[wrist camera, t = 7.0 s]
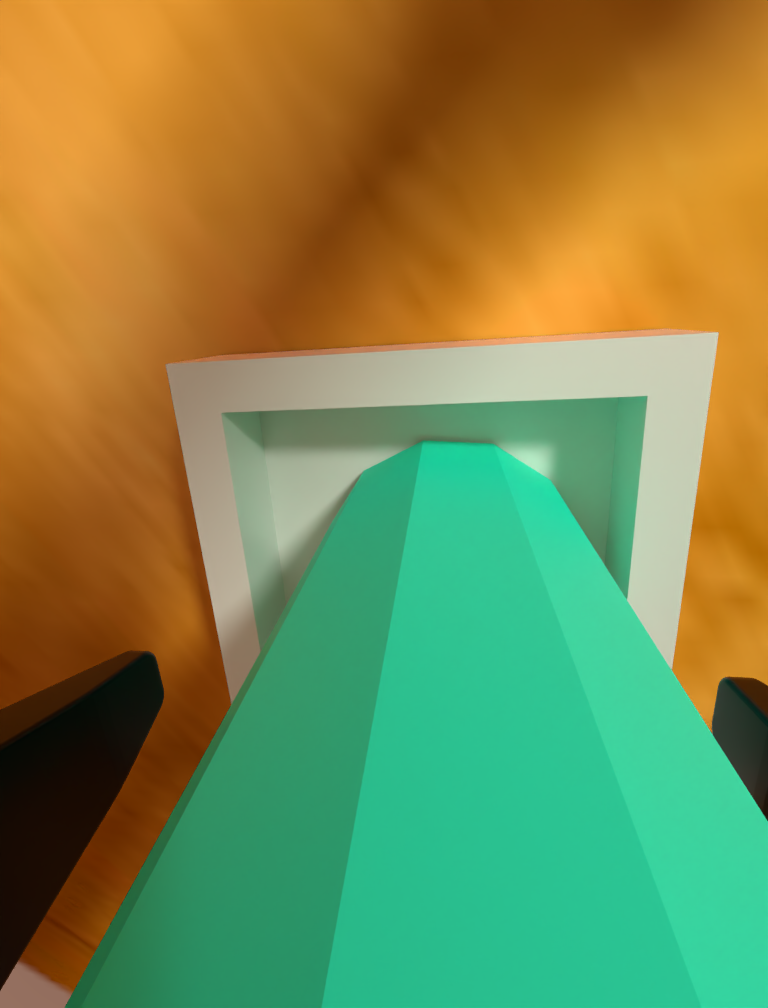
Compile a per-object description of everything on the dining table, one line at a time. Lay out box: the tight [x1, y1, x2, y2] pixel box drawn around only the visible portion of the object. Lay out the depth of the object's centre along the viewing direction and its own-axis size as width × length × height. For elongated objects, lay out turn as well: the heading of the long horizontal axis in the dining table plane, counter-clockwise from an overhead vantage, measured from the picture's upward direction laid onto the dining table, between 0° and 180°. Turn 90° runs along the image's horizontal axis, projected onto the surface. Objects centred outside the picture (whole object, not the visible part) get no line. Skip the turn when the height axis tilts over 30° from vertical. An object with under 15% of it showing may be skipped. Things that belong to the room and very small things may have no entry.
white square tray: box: [166, 329, 719, 704], centre depth 12 cm, size 10×11×3 cm
